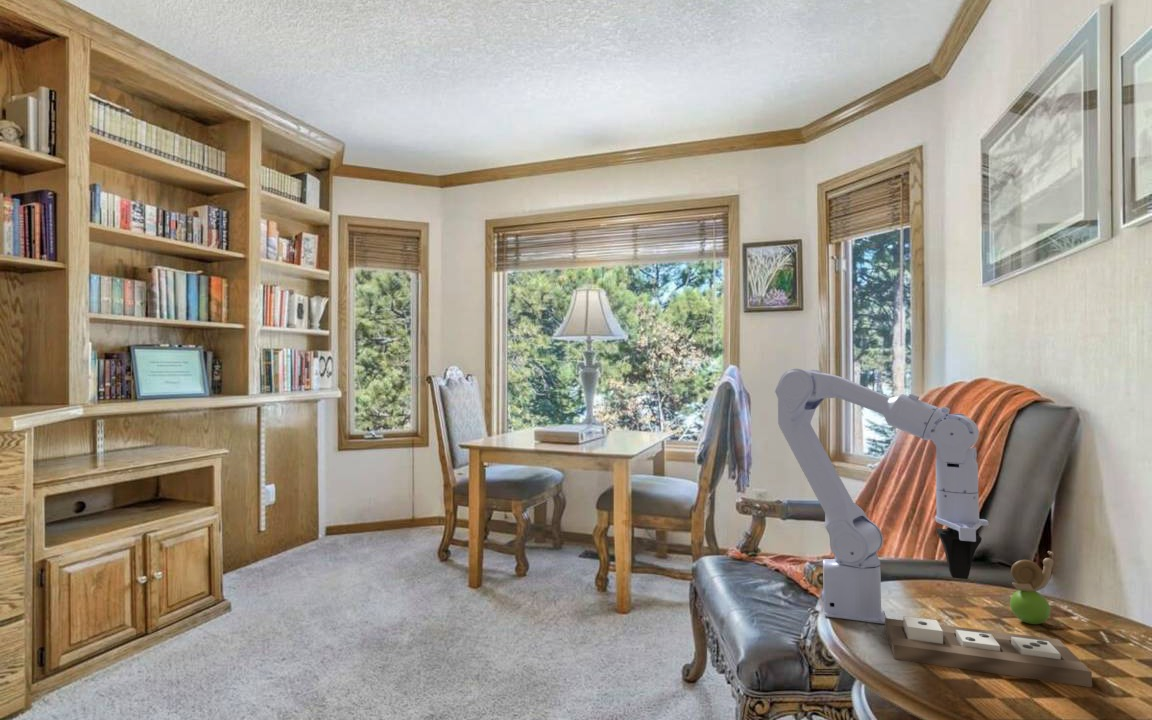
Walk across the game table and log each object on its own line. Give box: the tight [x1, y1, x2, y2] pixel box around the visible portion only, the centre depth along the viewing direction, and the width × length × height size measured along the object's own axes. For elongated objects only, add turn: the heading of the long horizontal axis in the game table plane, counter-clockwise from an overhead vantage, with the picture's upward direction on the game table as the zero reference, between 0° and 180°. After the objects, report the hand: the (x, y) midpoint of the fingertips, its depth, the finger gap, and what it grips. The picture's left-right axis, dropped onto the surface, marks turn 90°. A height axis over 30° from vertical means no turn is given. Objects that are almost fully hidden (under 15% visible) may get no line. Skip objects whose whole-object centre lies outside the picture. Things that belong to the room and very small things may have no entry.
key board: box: [884, 617, 1093, 688], centre depth 88 cm, size 23×11×2 cm, turn 69°
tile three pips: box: [1011, 637, 1061, 659], centre depth 85 cm, size 4×4×3 cm
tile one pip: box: [902, 616, 943, 644], centre depth 90 cm, size 4×4×3 cm
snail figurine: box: [1009, 550, 1054, 625], centre depth 100 cm, size 5×6×12 cm
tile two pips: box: [956, 630, 1000, 651], centre depth 88 cm, size 4×4×3 cm
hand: (959, 577), depth 95 cm, fingers closed
